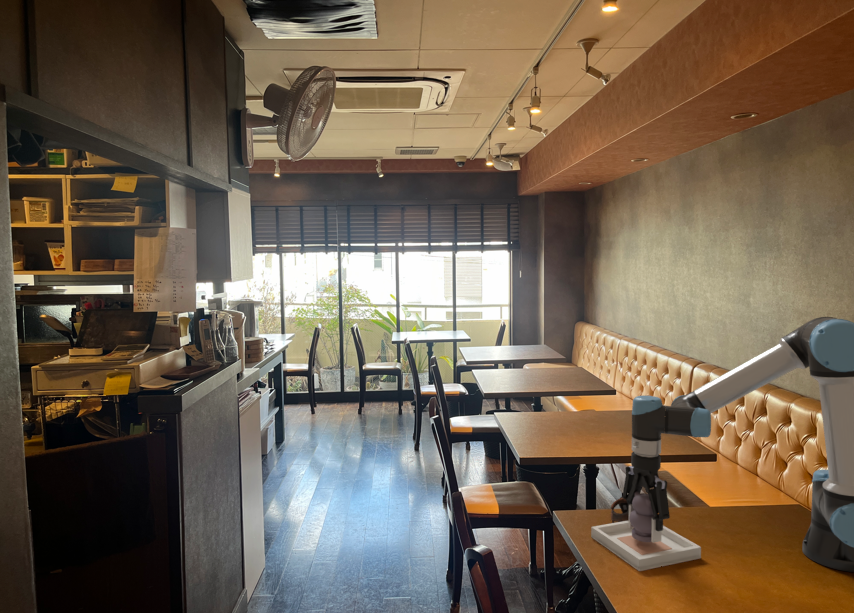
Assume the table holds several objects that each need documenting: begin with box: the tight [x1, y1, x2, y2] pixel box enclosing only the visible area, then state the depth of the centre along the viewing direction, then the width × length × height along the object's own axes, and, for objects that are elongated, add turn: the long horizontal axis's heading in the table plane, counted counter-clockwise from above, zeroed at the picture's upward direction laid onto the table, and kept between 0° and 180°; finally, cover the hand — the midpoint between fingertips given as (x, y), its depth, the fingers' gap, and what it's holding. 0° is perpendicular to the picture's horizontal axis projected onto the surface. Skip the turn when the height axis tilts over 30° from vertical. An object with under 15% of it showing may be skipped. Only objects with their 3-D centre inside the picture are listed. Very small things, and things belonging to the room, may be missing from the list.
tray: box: [590, 520, 702, 572], centre depth 156 cm, size 20×20×3 cm
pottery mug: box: [610, 496, 629, 523], centre depth 173 cm, size 12×10×8 cm
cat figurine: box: [629, 491, 654, 542], centre depth 156 cm, size 8×8×12 cm
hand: (644, 533), depth 156 cm, fingers closed on cat figurine, 8 cm apart
